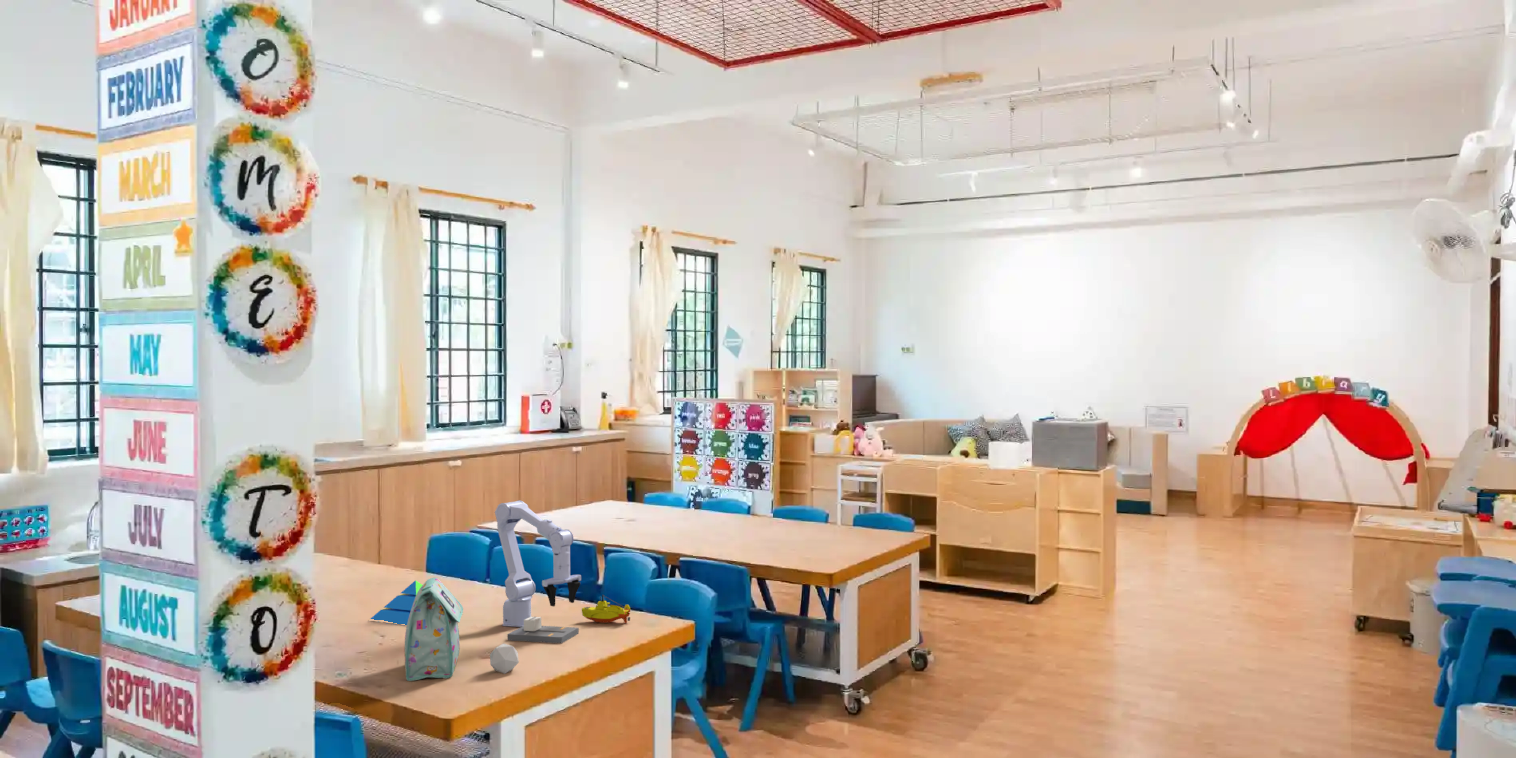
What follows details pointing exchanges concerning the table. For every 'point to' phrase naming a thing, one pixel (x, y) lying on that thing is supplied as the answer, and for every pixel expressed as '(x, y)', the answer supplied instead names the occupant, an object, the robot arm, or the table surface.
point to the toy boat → (606, 612)
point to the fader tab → (532, 623)
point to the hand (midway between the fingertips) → (562, 604)
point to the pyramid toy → (399, 606)
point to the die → (504, 658)
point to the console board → (544, 634)
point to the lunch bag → (432, 633)
